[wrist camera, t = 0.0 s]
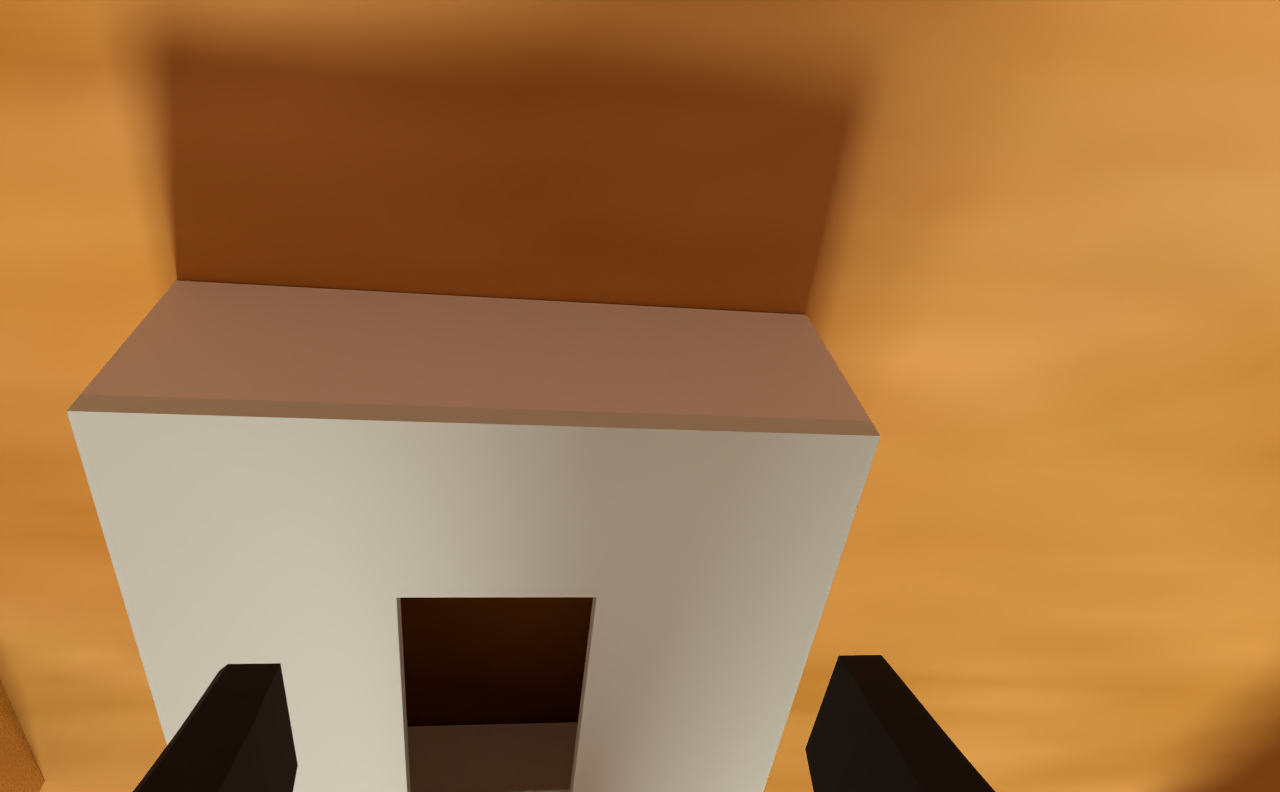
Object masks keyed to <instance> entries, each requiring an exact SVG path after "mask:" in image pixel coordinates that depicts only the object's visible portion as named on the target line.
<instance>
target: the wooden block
mask: <svg viewBox="0 0 1280 792" xmlns="http://www.w3.org/2000/svg"><path fill="white" fill-rule="evenodd" d="M44 782H45V780H44V778H43V776H42V773H41V771H40V769H39V767H38V764H37V762H36V760H35V758H34V755H33V753H32V751H31V749H30V746H29V744H28V742H27V740H26V737H25V735H24V733H23V730H22V728H21V726H20V724H19V721H18V719H17V717H16V715H15V712H14V710H13V708H12V706H11V703H10V701H9V699H8V697H7V694H6V692H5V690H4V688H3V685H2V683H1V681H0V792H40V790H41V788H42V786H43V784H44Z"/></svg>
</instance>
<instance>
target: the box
mask: <svg viewBox="0 0 1280 792" xmlns="http://www.w3.org/2000/svg"><path fill="white" fill-rule="evenodd" d="M67 414H68V417H69V420H70V424H71V427H72V430H73V434H74V437H75V440H76V444H77V447H78V450H79V454H80V457H81V460H82V463H83V467H84V470H85V473H86V477H87V480H88V483H89V487H90V490H91V493H92V497H93V500H94V503H95V507H96V510H97V513H98V517H99V520H100V523H101V527H102V530H103V533H104V537H105V540H106V543H107V547H108V550H109V553H110V557H111V560H112V563H113V567H114V570H115V573H116V577H117V580H118V583H119V587H120V590H121V593H122V597H123V600H124V603H125V607H126V610H127V613H128V617H129V620H130V623H131V627H132V630H133V633H134V637H135V640H136V643H137V646H138V650H139V653H140V656H141V660H142V663H143V666H144V670H145V673H146V676H147V680H148V683H149V686H150V690H151V693H152V696H153V700H154V703H155V706H156V710H157V713H158V716H159V720H160V723H161V726H162V730H163V733H164V736H165V740H166V743H167V745H168V744H169V743H170V741H171V740H172V738H173V737H174V736H175V734H176V733H177V731H178V730H179V729H180V727H181V726H182V724H183V723H184V722H185V720H186V719H187V717H188V716H189V714H190V713H191V711H192V710H193V709H194V707H195V706H196V704H197V703H198V701H199V700H200V698H201V697H202V696H203V694H204V693H205V691H206V690H207V688H208V687H209V685H210V684H211V682H212V681H213V679H214V678H215V676H216V675H217V673H218V672H219V670H221V669H222V668H223V667H225V666H226V665H227V664H269V663H280V664H281V669H282V675H283V681H284V687H285V693H286V699H287V705H288V711H289V717H290V723H291V728H292V734H293V740H294V746H295V752H296V758H297V764H298V767H297V772H296V777H295V783H294V788H293V792H763V791H764V788H765V785H766V782H767V779H768V776H769V773H770V770H771V767H772V764H773V761H774V758H775V755H776V752H777V748H778V745H779V742H780V739H781V736H782V733H783V730H784V727H785V724H786V721H787V718H788V715H789V712H790V709H791V706H792V703H793V700H794V697H795V694H796V691H797V688H798V685H799V682H800V679H801V676H802V673H803V670H804V667H805V664H806V660H807V657H808V654H809V651H810V648H811V645H812V642H813V639H814V636H815V633H816V630H817V627H818V624H819V621H820V618H821V615H822V612H823V609H824V606H825V603H826V600H827V597H828V594H829V591H830V588H831V585H832V582H833V579H834V576H835V572H836V569H837V566H838V563H839V560H840V557H841V554H842V551H843V548H844V545H845V542H846V539H847V536H848V533H849V530H850V527H851V524H852V521H853V518H854V515H855V512H856V509H857V506H858V503H859V500H860V497H861V494H862V491H863V488H864V485H865V481H866V478H867V475H868V472H869V469H870V466H871V463H872V460H873V457H874V454H875V451H876V448H877V445H878V442H879V439H880V434H879V433H878V431H877V430H876V428H875V426H874V425H873V423H872V421H871V420H870V418H869V417H868V415H867V413H866V412H865V410H864V408H863V407H862V405H861V403H860V402H859V400H858V399H857V397H856V395H855V394H854V392H853V390H852V389H851V387H850V386H849V384H848V382H847V381H846V379H845V377H844V376H843V374H842V373H841V371H840V369H839V368H838V366H837V364H836V363H835V361H834V360H833V358H832V356H831V355H830V353H829V351H828V350H827V348H826V346H825V345H824V343H823V342H822V340H821V338H820V337H819V335H818V333H817V332H816V330H815V329H814V327H813V325H812V324H811V322H810V320H809V319H808V317H807V316H806V315H801V314H783V313H765V312H746V311H728V310H709V309H691V308H673V307H654V306H636V305H618V304H599V303H581V302H563V301H544V300H526V299H507V298H489V297H471V296H452V295H434V294H416V293H397V292H379V291H361V290H342V289H324V288H305V287H287V286H269V285H250V284H232V283H214V282H195V281H177V280H176V281H175V282H174V284H173V285H172V286H171V287H170V288H169V290H168V291H167V292H166V293H165V294H164V295H163V297H162V298H161V299H160V300H159V301H158V303H157V304H156V305H155V306H154V307H153V309H152V310H151V311H150V312H149V313H148V315H147V316H146V317H145V318H144V319H143V321H142V322H141V323H140V324H139V325H138V327H137V328H136V329H135V330H134V331H133V333H132V334H131V335H130V336H129V337H128V338H127V340H126V341H125V342H124V343H123V344H122V346H121V347H120V348H119V349H118V350H117V352H116V353H115V354H114V355H113V356H112V358H111V359H110V360H109V361H108V362H107V364H106V365H105V366H104V367H103V368H102V370H101V371H100V372H99V373H98V374H97V375H96V377H95V378H94V379H93V380H92V381H91V383H90V384H89V385H88V386H87V387H86V389H85V390H84V391H83V392H82V393H81V395H80V396H79V397H78V398H77V399H76V401H75V402H74V403H73V404H72V405H71V407H70V408H69V409H68V410H67ZM445 597H593V602H592V610H591V618H590V627H589V635H588V643H587V652H586V660H585V668H584V677H583V685H582V693H581V702H580V710H579V718H578V722H568V723H529V724H490V725H451V726H412V727H407V713H406V694H405V674H404V655H403V636H402V617H401V598H445Z"/></svg>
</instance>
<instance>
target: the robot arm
mask: <svg viewBox="0 0 1280 792" xmlns="http://www.w3.org/2000/svg"><path fill="white" fill-rule="evenodd" d="M806 754H807V759H808V764H809V769H810V775H811V780H812V785H813V790H814V792H995V791H994V790H993V789H992V787H991V786H990V785H989V784H988V783H987V782H986V781H985V779H984V778H983V777H982V776H981V775H980V774H979V773H978V771H977V770H976V769H975V768H974V767H973V766H972V764H971V763H970V762H969V761H968V760H967V758H966V757H965V756H964V755H963V754H962V753H961V751H960V750H959V749H958V748H957V747H956V745H955V744H954V743H953V742H952V741H951V739H950V738H949V737H948V736H947V734H946V733H945V732H944V731H943V730H942V728H941V727H940V726H939V725H938V724H937V722H936V721H935V720H934V719H933V718H932V716H931V715H930V714H929V713H928V711H927V710H926V709H925V708H924V707H923V705H922V704H921V703H920V702H919V700H918V699H917V698H916V697H915V695H914V694H913V693H912V692H911V691H910V689H909V688H908V687H907V686H906V684H905V683H904V682H903V681H902V680H901V678H900V677H899V676H898V675H897V673H896V672H895V671H894V670H893V669H892V667H891V666H890V665H889V664H888V663H887V661H886V660H885V659H884V658H883V657H882V656H881V655H854V656H839V657H838V660H837V662H836V665H835V668H834V671H833V674H832V676H831V679H830V682H829V685H828V687H827V690H826V693H825V696H824V699H823V701H822V704H821V707H820V710H819V713H818V715H817V718H816V721H815V724H814V727H813V729H812V732H811V735H810V738H809V740H808V743H807V746H806ZM297 767H298V764H297V758H296V752H295V746H294V740H293V734H292V728H291V723H290V717H289V711H288V705H287V699H286V693H285V687H284V681H283V675H282V669H281V664H280V663H269V664H227V665H226V666H225V667H223V668H222V669H221V670H219V672H218V673H217V675H216V676H215V678H214V679H213V681H212V682H211V684H210V685H209V687H208V688H207V690H206V691H205V693H204V694H203V696H202V697H201V698H200V700H199V701H198V703H197V704H196V706H195V707H194V709H193V710H192V711H191V713H190V714H189V716H188V717H187V719H186V720H185V722H184V723H183V724H182V726H181V727H180V729H179V730H178V731H177V733H176V734H175V736H174V737H173V738H172V740H171V741H170V743H169V744H168V745H167V747H166V748H165V749H164V751H163V752H162V753H161V755H160V756H159V758H158V759H157V760H156V762H155V763H154V764H153V766H152V767H151V768H150V770H149V771H148V773H147V774H146V775H145V777H144V778H143V779H142V781H141V782H140V783H139V784H138V786H137V787H136V788H135V790H134V791H133V792H293V788H294V783H295V777H296V772H297Z"/></svg>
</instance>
